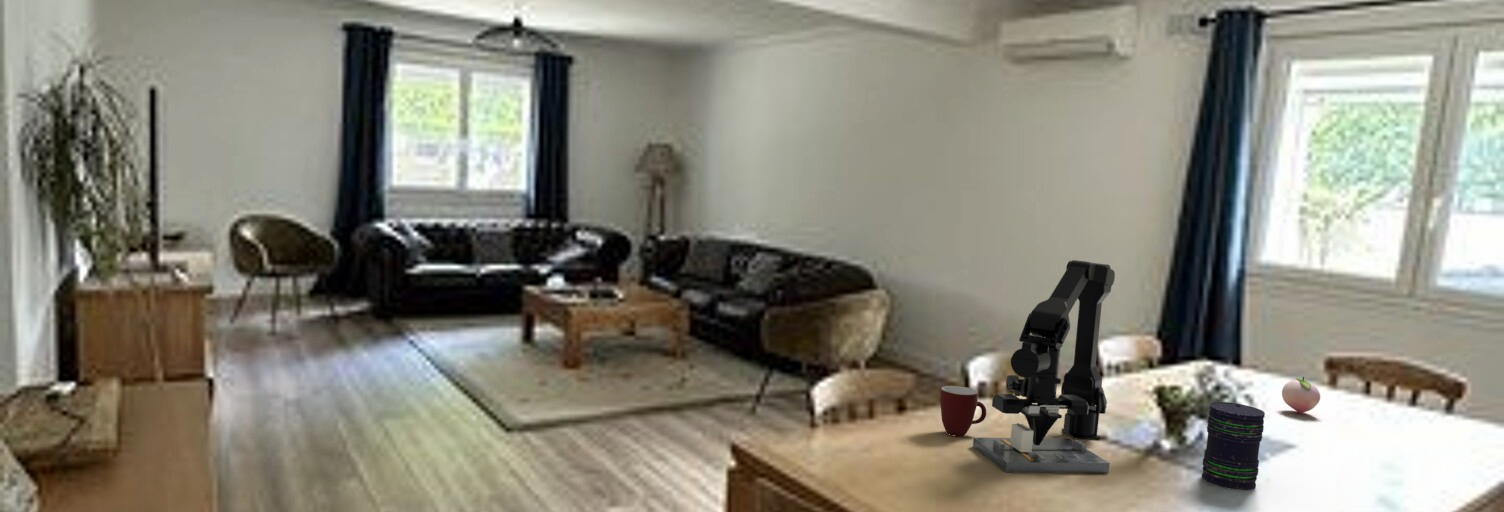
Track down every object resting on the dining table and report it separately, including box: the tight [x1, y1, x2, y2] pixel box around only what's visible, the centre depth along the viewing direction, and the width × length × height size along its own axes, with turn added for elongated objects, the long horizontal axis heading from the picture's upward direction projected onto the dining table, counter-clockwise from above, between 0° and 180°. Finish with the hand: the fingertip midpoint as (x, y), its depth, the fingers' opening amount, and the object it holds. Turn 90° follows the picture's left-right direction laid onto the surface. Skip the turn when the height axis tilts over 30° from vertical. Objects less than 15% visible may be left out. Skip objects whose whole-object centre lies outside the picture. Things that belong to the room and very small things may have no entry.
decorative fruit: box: [1281, 376, 1321, 414], centre depth 243 cm, size 9×8×10 cm
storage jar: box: [1201, 401, 1266, 492], centre depth 181 cm, size 10×10×15 cm
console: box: [972, 437, 1110, 474], centre depth 189 cm, size 22×16×4 cm
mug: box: [939, 385, 987, 437], centre depth 203 cm, size 10×8×10 cm
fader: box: [1010, 423, 1034, 452], centre depth 188 cm, size 2×5×5 cm, turn 10°
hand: (1036, 444), depth 188 cm, fingers closed
